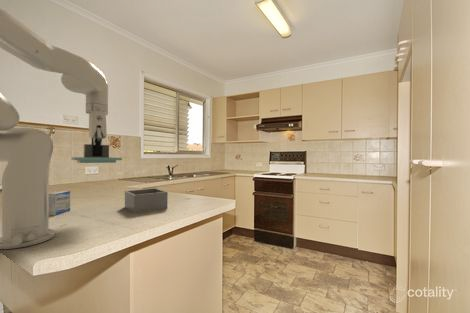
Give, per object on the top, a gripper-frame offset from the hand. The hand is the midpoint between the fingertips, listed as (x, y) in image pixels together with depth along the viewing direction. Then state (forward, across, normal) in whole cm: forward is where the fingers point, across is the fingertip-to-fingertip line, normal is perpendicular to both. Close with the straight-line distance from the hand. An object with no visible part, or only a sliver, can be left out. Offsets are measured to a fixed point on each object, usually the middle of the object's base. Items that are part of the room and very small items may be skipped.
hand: (96, 155), depth 87 cm
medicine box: (+24, +15, +11) cm, 31 cm away
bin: (+24, -1, -19) cm, 30 cm away
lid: (+2, 0, 0) cm, 2 cm away
